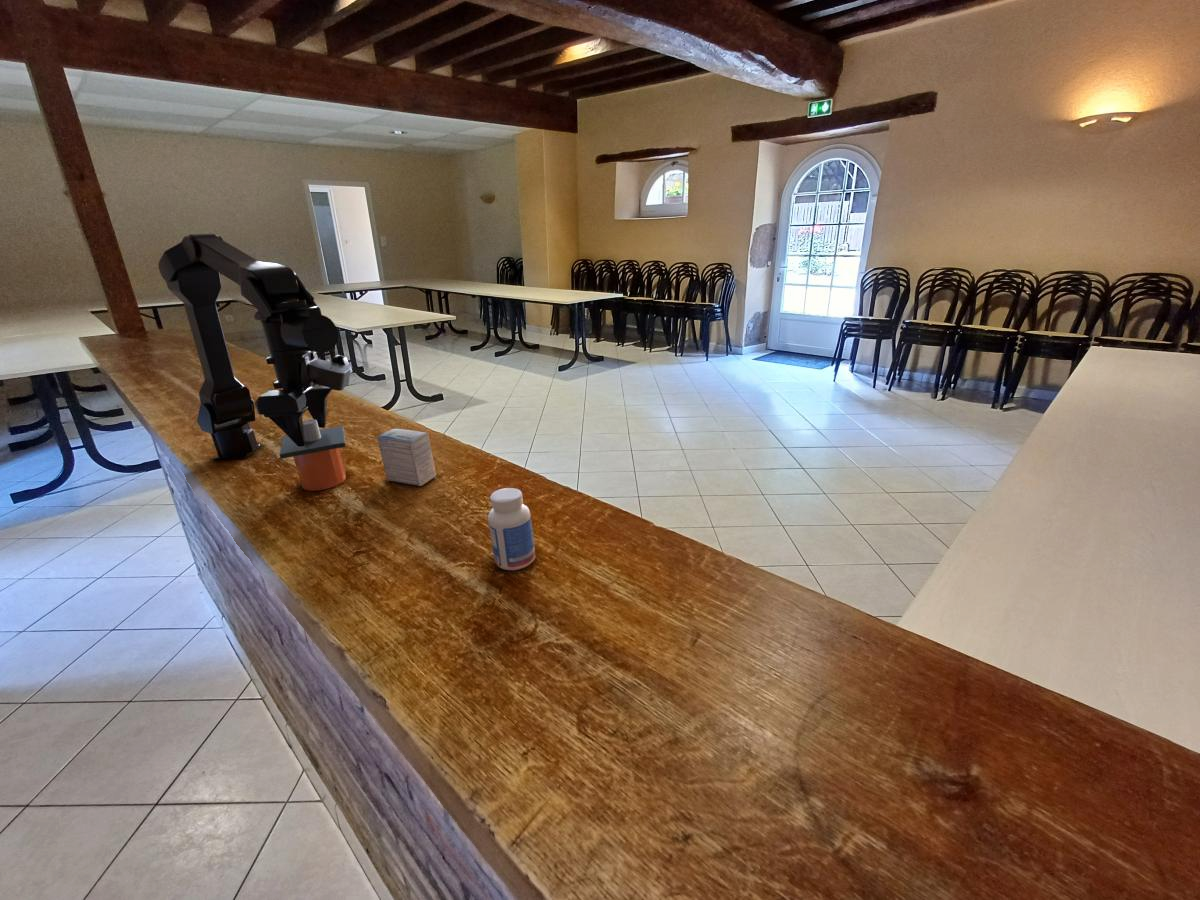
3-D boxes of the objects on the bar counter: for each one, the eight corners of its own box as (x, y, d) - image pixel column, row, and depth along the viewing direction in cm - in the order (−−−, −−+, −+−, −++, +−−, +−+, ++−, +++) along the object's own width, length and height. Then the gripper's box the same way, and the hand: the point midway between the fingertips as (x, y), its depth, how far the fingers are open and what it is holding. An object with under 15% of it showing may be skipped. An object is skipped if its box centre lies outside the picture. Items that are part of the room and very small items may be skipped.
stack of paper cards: (437, 477, 99) (429, 432, 96) (420, 487, 96) (411, 441, 92) (403, 471, 103) (394, 427, 99) (386, 481, 99) (376, 436, 95)
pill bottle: (542, 551, 75) (535, 487, 71) (524, 574, 70) (516, 507, 67) (506, 546, 77) (498, 483, 73) (487, 568, 72) (476, 502, 68)
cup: (295, 492, 96) (283, 453, 93) (311, 474, 103) (301, 437, 100) (338, 488, 97) (327, 449, 94) (351, 471, 103) (342, 434, 101)
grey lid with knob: (280, 459, 91) (273, 436, 89) (284, 439, 99) (278, 419, 98) (345, 446, 95) (340, 424, 93) (343, 429, 103) (338, 409, 102)
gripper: (317, 357, 82) (341, 453, 88) (356, 334, 100) (374, 415, 106) (240, 362, 82) (269, 458, 88) (293, 338, 99) (315, 420, 105)
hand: (312, 436), depth 96 cm, fingers open, 9 cm apart
